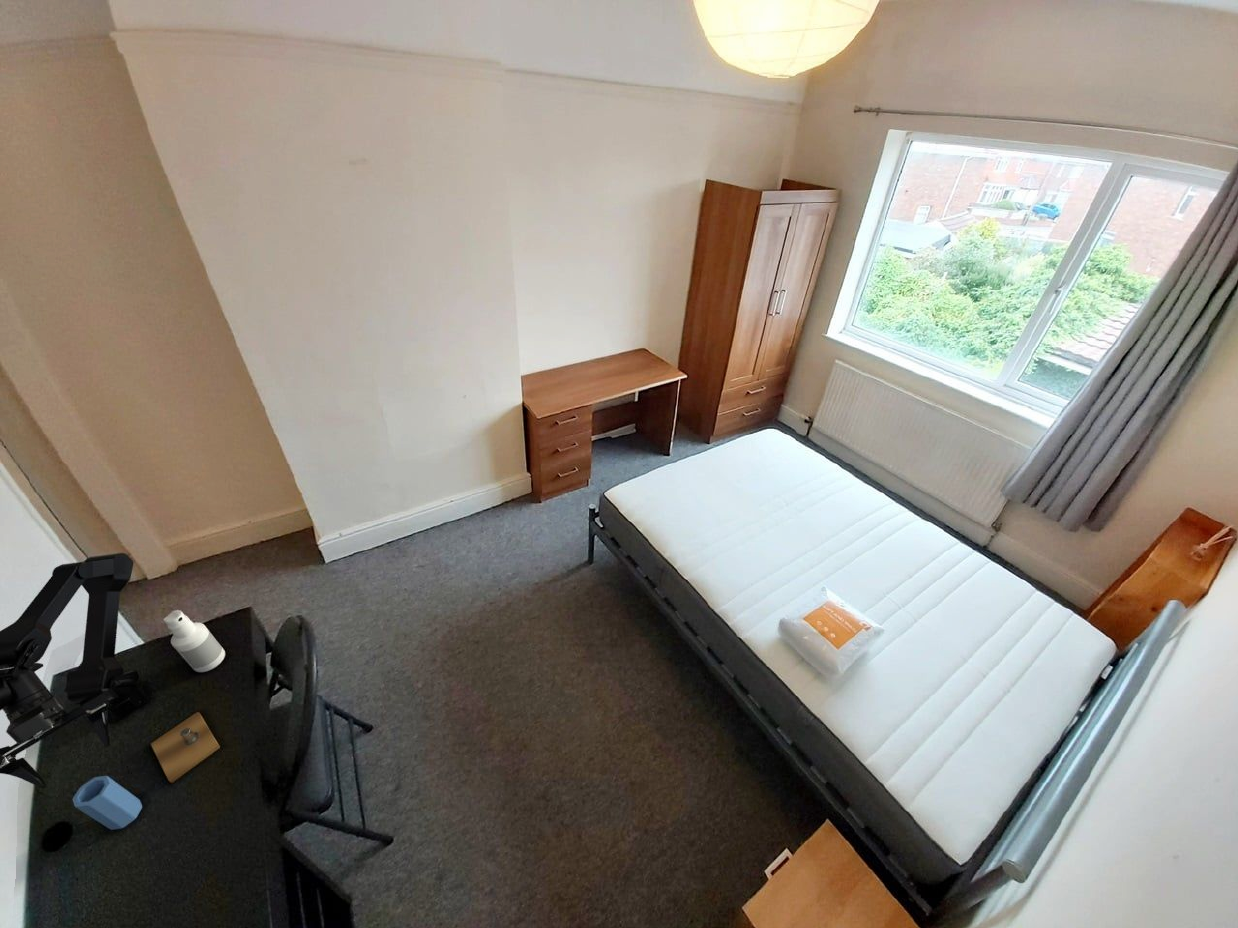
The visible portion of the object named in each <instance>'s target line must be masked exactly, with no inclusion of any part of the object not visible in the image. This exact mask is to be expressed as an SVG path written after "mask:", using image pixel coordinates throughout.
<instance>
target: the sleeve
mask: <svg viewBox="0 0 1238 928" xmlns="http://www.w3.org/2000/svg"><path fill="white" fill-rule="evenodd" d="M72 802H73V803H72V804H73V805H74V808H76V809H77V810H80V812H83V813H84V814H86V815H87V816H89V817H91V818H92V819H93V820H95V821H96V822H98V823H100V824H101V825H103V826H105V828H107V829H109V830H111V831H113V830H121V829H123V828H125V827H127V826H128V825H130V824H131V823H133V821H135V820H136V819H137V818H138V816H139V814H140V812H141V810H142V809H143V804H142V801H141V800H140V799H139V798H138V797H136V796H135V795H134V794H133V793H131V792H130V791H128V790H127V789H126V788H124V787H123V786H121V785H120V784H119V783H118V782H116V781H115V780H113V779H112V778H111V777H109V776H108V775H102V776H94V777H93V778H91V779H90V780H88V781H87V782H85V783H84V784H83V785H81V786H80V787H79V789H78V790H77V791H76V793H75V794H74V796H73V797H72Z"/></svg>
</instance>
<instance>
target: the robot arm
mask: <svg viewBox="0 0 1238 928" xmlns="http://www.w3.org/2000/svg"><path fill="white" fill-rule="evenodd" d="M133 569H134V560H133V559H132V557H130V556H129V555H128V554H126V553H125V552H115V553H109V554H102V555H101V554H100V555H94V556H89V557H87V558H86V559H84V560H83V561H77V562H76V561H75V562H70V563H62V564H59V565H57V566H55V568H54V569H53V570H52V572H51V576H50V578H49V579H48V581H47V582H46V583H45V584H44V586H43V587H42V588H41V589H40V591H39V592H38V593H37V594H36V595H35V597H34V598H33V600H32V601H30V603H29V604H28V605H27V607H26V608H25V609H24V611H23V613H22V614H21V615H20V616H19V618H17V620H15V621H14V622H13V623H11V624H10V625H8V626H6V627H4V628H3V629H1V630H0V711H3V712H4V714H5V716H6V718H7V720H8V721H9V724H8V726H7V728H6V730H5V733H6V734H7V735H8V736H9V737H10V738H11V739H13V741H15V742H16V743H14V744H13V745H11V746H10V745H7V746H4V747H0V774H2V775H9V776H12V777H15V778H18V779H21V780H23V781H25V782H27V783H29V784H32V785H33V786H36V787H38V788H41V789H43V788H46V787H47V783H46V782H45V780H44V778H43V777H42V776H41V775H40V774H39V773H38V772H37V771H36V770H35V768H34V767H33V766H32V765H31V764H30V763H29V762H28V761H27V760H26V758H25V757H20V758H16V757H17V755H18V754H20V753H22V752H24V751H25V750H27V749H29V748H30V747H32V746H33V745H35V744H37V743H39V742H40V741H42V740H44V739H45V738H47V737H48V736H50V735H52V734H54V733H55V732H57V731H58V730H60V729H62V728H64V727H66V726H68V725H69V724H71V723H72V722H74V721H76V720H77V719H79V718H80V717H82V716H84V715H86V714H88V715H87V716H85V718H86V719H87V720H88V721H89V722H90V724H91V725H92V727H93V729H94V731H95V732H96V734H97V736H98V738H99V739H100V741H101V743H102V744H103V745H104V746H105V747H106V748H108V747H110V746H111V741H110V735H109V728H108V713H109V714H110V717H111V719H112V722H113V723H118V722H120V721H122V720H124V719H125V718H126V717H128V716H129V715H132V714H133V713H134V712H137V710H139V709H141V708H142V707H144V706H145V705H147V704H149V703H150V698H149V696H148V695H147V693H146V691H145V689H144V687H143V686H142V685H139V684H138V681H139V679H140V674H139V673H138V670H129V671H124V667H123V665H122V664H121V662H120V661H118V659H117V658H116V645H117V632H118V620H119V609H120V596H121V593H122V592H121V591H122V590H123V589H124V588H125V587H126V585H127V584H128V583H129V582H130V580H131V577H132V573H133ZM81 586H82V587H83V589H84V591H85V592H86V593H87V594H88V600H87V610H86V622H85V631H84V639H83V640H84V641H83V643H84V644H83V651H82V652H83V653H82V661H81V662H80V664H79V665H78V666H77V667H76V669H74V670H69V672H67V674H66V685H65V689H64V690H63V692H64V693H66V699H67V701H70V703H72V704H74V705H79V706H78V707H76V708H74V709H72V710H71V711H68V712H66V708H67V705H66V704H65V703H64V702H63V700H62V699H61V698H60V697H58V696H56V695H55V694H52V693H51V691H50V690H49V689H48V687H47V686H46V685H45V684H44V683H43V681H42V680H41V679H40V677H39V676H38V674H37V673H36V672H37V671H39V670H40V669H42V668H43V667H44V663H40V662H39V661H40V660H41V659H42V658H43V657H44V655H45V653H46V652H47V649H48V648H49V645H50V644H51V641H52V639H53V636H52V631H51V630H52V627H53V625H54V624H55V623H56V621H57V620H58V618H59V617H60V615H61V614H62V613H63V611H64V610H65V609H66V607H67V606H68V605H69V603H70V602H71V601H72V599H73V597H74V596H75V595H76V593H78V591H79V589H80V588H81ZM60 720H62V721H60ZM59 721H60V722H59ZM57 722H59V723H57ZM56 723H57V724H56Z"/></svg>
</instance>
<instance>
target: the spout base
mask: <svg viewBox="0 0 1238 928" xmlns="http://www.w3.org/2000/svg"><path fill="white" fill-rule="evenodd" d="M150 746H151V749H152V750H153V752H154V754H155V756H156V758H157V760H158V762H159V764H160V766H161V769H162V770H163V773H164V774H165V776H166V778H167V780H168V782H170V783H171V784H172V783H174V782H175V781H177V780H178V779H180V778H181V777H182V776H184V775H185V774H186V773H188V772H189V771H191V770H192V769H193V768H195V767H196V766H197V765H199V764H200V763H201V762H203V761H204V760H205V759H207V758H208V757H210V756H211V755H212V754H214V753H216V751H217V750H219V749H220V748H221V746H220V744H219V742H218V741H217V739H216V738H215V736H214V734H213V733H212V731H211V729H210V728H209V726H208V724H207V723H206V720H205V719H204V717H203V716H202V714H201V713H200V712H199V711H197V712H195V713H194V714H192V715H191V716H189V717H188V718H186V719H185V720H184V721H182V722H180V723H179V724H178V725H176V726H175V727H173V728H171V729H170V730H169V731H167V732H165V733H164V734H162V735H161V736H160V737H158V738H157V739H155V740H154V741H151V742H150Z"/></svg>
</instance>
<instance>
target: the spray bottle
mask: <svg viewBox="0 0 1238 928" xmlns="http://www.w3.org/2000/svg"><path fill="white" fill-rule="evenodd" d="M163 622H164V623H165V624H166V626H167V629H168V630H169V631H170V632H171V634H172V637H171V638H170V644H171V646H172V647H173V648H174V649H175V650H176V652H177V653H178V654H179V655H180V656H181V657H182V659H184V660H185V662H186V663H187V664H188V665H189V666H190V667H191V669H192V670H193V671H195V672H197V673H205V672H209V671H211V670H213V669H215V668H217V667H218V666H219V665H220V664H221V663H222V662H223V661H224V659H225V657H226V651H225V649H224V648H223V647H222V645H221V644H220V643H219V641H218V640H217V639H216V638H215V637H214V635H213V634H212V633H211V631H210V630H209V629H208V628H207V626H206V625H205V624H204V623H202V622H197V621H196V622H193V620H191V619H190V618H189V616H188V615H186V614H184V612H183V611H182V610H180V609H176V610H175V609H174V610H172V611H171V612H170V613H168V615H167V616H165V617H164V618H163Z"/></svg>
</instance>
